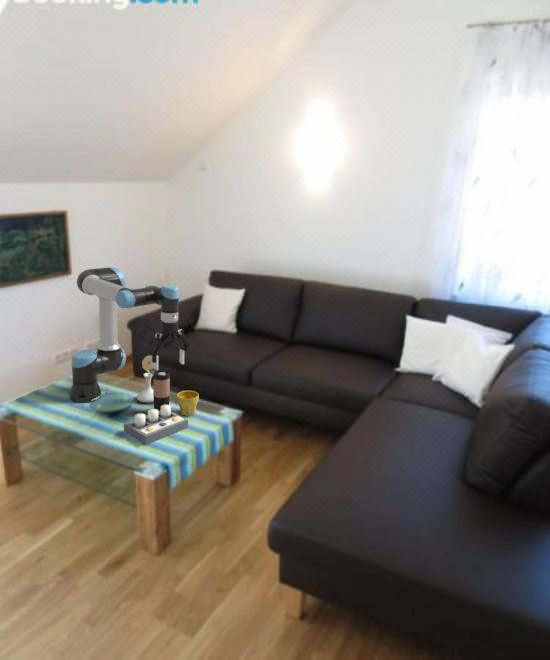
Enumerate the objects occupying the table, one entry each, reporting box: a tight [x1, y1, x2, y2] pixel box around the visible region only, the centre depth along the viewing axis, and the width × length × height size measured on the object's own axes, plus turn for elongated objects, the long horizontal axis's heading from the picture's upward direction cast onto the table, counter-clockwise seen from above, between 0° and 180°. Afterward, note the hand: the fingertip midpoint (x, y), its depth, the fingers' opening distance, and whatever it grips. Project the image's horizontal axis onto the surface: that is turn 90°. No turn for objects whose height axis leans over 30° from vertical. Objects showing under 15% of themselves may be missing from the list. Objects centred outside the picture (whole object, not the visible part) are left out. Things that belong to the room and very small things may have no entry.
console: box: [123, 411, 189, 446], centre depth 222 cm, size 16×23×4 cm
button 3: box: [160, 404, 172, 419], centre depth 228 cm, size 5×5×5 cm
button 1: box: [134, 413, 146, 429], centre depth 217 cm, size 5×5×5 cm
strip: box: [140, 415, 186, 434], centre depth 219 cm, size 4×21×1 cm, turn 140°
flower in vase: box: [136, 354, 156, 403], centre depth 248 cm, size 13×11×25 cm
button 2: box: [147, 408, 158, 424], centre depth 222 cm, size 5×5×5 cm
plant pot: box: [176, 390, 200, 417], centre depth 240 cm, size 10×10×10 cm
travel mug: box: [153, 369, 171, 411], centre depth 238 cm, size 8×8×20 cm
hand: (169, 366), depth 223 cm, fingers open, 13 cm apart
